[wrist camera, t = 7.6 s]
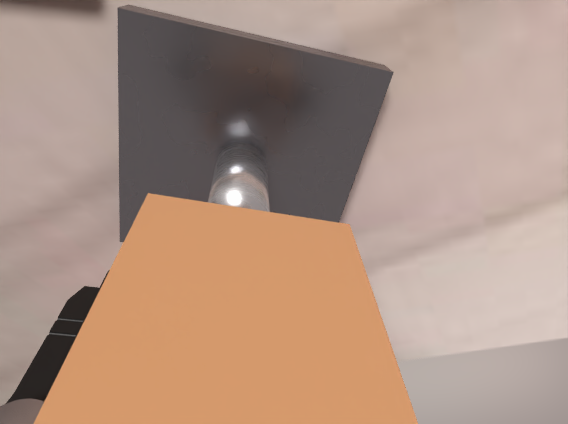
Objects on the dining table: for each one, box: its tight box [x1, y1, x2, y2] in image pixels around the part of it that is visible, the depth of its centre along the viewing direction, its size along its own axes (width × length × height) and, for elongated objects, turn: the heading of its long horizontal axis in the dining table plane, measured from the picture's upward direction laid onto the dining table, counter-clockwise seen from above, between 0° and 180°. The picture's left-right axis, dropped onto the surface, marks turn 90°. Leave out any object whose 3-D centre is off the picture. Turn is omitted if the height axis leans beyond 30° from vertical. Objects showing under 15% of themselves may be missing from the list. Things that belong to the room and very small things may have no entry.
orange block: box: [34, 193, 418, 424], centre depth 9 cm, size 6×6×7 cm
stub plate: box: [118, 5, 393, 242], centre depth 18 cm, size 12×12×6 cm
